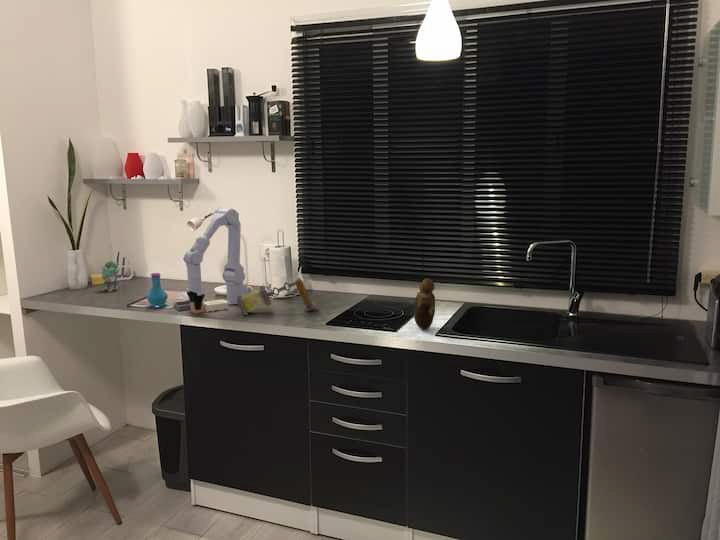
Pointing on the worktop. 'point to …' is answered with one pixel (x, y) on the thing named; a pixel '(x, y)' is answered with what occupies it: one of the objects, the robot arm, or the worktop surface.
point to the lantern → (262, 298)
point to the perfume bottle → (156, 292)
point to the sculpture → (425, 304)
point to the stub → (195, 309)
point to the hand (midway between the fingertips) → (196, 308)
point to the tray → (182, 305)
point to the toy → (110, 276)
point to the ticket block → (215, 305)
